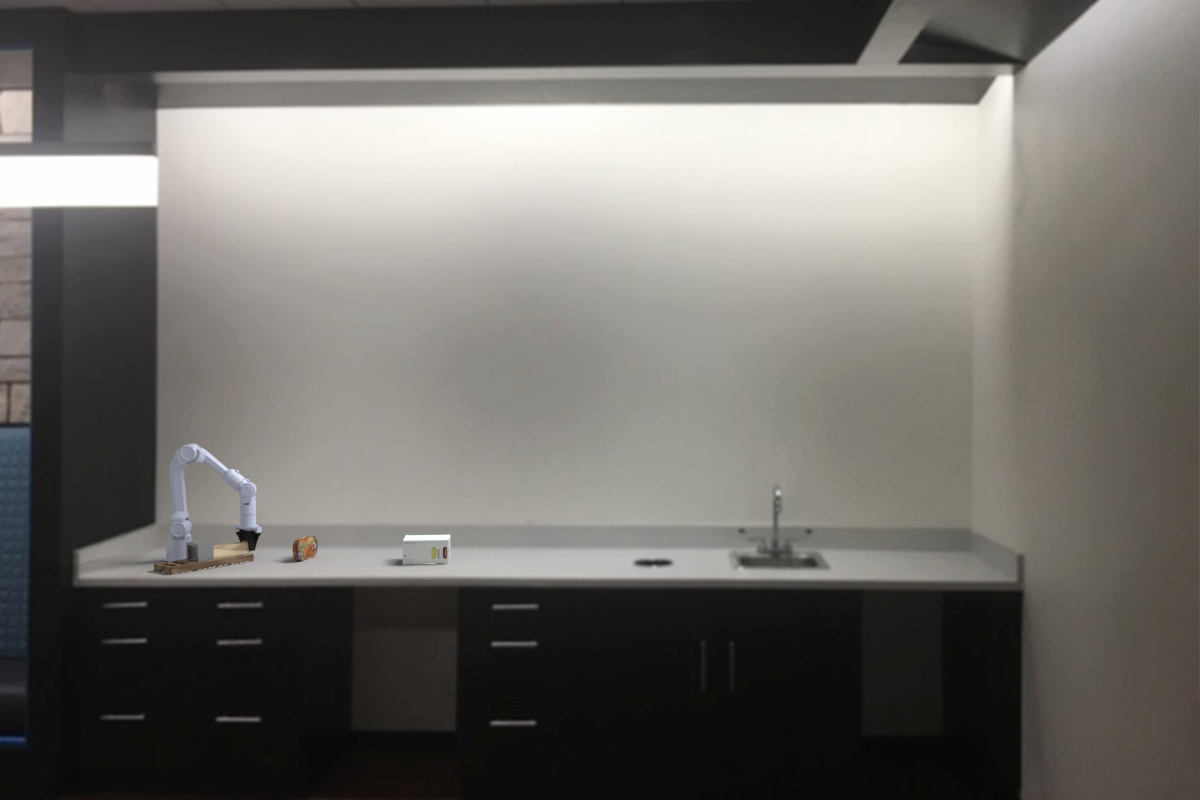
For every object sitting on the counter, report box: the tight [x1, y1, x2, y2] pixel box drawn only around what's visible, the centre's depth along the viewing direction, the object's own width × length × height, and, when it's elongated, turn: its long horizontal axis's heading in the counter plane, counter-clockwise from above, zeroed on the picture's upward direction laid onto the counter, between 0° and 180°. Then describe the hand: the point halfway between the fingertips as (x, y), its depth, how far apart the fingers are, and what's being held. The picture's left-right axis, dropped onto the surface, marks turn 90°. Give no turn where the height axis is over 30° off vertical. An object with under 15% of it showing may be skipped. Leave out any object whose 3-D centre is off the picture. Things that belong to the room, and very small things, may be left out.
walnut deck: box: [153, 552, 255, 575], centre depth 355 cm, size 12×32×3 cm, turn 143°
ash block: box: [214, 541, 251, 559], centre depth 362 cm, size 4×16×4 cm, turn 143°
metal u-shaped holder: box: [186, 539, 215, 562], centre depth 353 cm, size 8×6×6 cm
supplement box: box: [402, 533, 452, 566], centre depth 361 cm, size 17×13×9 cm
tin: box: [292, 534, 319, 562], centre depth 368 cm, size 15×3×8 cm, turn 168°
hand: (248, 550), depth 369 cm, fingers closed on ash block, 4 cm apart
